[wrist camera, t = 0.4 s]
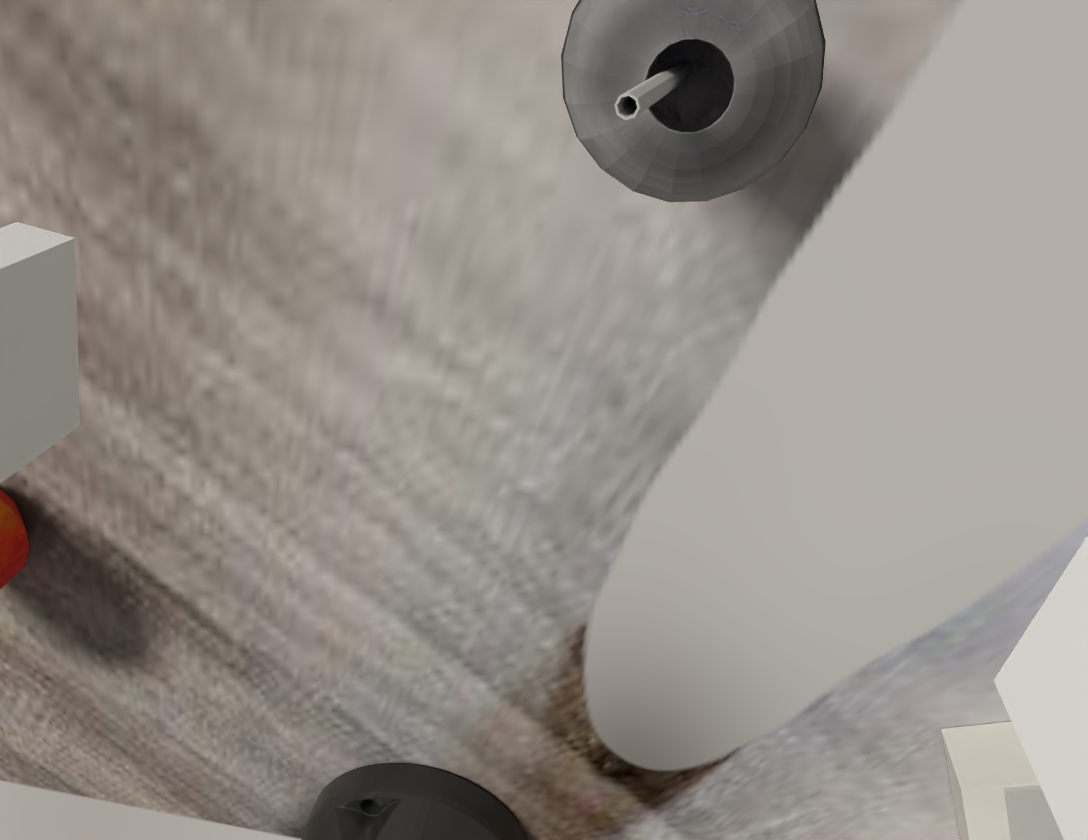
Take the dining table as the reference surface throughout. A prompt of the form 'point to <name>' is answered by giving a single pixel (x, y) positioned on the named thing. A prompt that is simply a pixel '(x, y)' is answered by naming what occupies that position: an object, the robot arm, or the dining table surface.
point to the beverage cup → (691, 89)
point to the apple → (11, 540)
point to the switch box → (995, 785)
